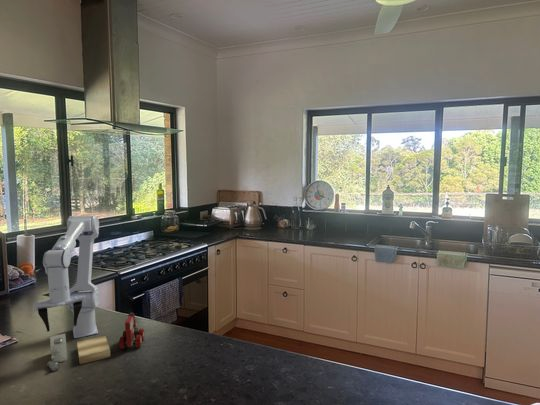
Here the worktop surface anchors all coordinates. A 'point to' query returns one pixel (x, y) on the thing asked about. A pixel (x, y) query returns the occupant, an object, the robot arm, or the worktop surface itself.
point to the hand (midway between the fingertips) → (62, 327)
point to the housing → (58, 348)
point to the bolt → (53, 365)
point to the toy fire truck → (131, 333)
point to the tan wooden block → (93, 349)
